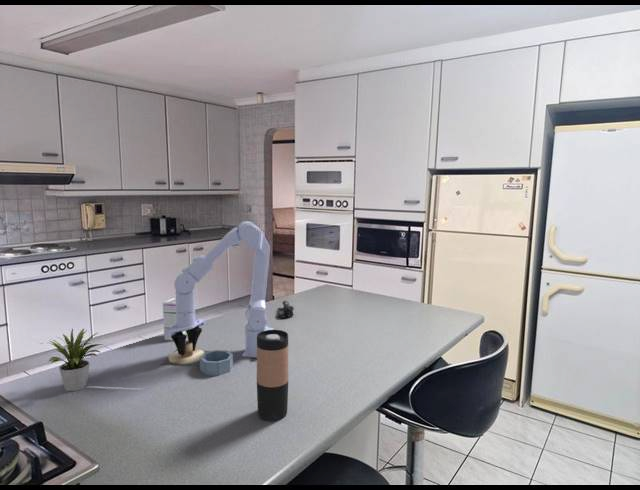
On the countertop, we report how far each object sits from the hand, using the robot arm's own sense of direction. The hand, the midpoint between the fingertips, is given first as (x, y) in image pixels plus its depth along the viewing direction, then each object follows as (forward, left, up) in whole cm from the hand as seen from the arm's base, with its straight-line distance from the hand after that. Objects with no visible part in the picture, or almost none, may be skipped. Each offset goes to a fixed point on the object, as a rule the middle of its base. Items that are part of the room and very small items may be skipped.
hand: (186, 352), depth 130 cm
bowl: (-12, +7, -2) cm, 14 cm away
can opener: (-24, -53, -3) cm, 58 cm away
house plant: (+23, +22, -3) cm, 32 cm away
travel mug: (-33, +29, -3) cm, 44 cm away
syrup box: (+11, -17, -3) cm, 20 cm away
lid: (0, 0, -2) cm, 2 cm away
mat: (0, 0, -2) cm, 2 cm away
